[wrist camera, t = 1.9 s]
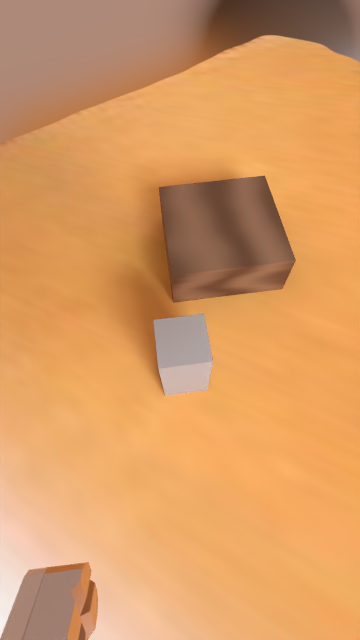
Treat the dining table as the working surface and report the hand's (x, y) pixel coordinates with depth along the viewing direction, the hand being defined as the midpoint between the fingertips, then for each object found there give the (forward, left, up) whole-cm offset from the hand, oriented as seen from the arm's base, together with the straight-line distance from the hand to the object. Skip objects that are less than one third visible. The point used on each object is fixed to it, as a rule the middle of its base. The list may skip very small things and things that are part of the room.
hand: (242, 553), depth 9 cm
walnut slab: (+6, +25, -20) cm, 33 cm away
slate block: (0, +11, -20) cm, 23 cm away
